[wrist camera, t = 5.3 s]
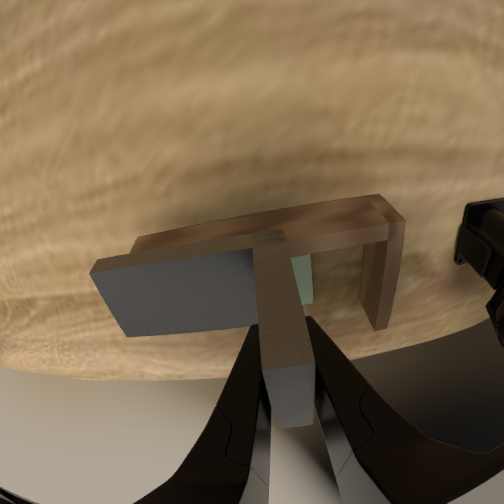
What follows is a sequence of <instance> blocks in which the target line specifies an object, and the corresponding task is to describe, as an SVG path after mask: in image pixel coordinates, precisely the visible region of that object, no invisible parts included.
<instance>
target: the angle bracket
mask: <svg viewBox="0 0 504 504" xmlns="http://www.w3.org/2000/svg"><path fill="white" fill-rule="evenodd" d="M89 274H90V276H91V278H92V280H93V281H94V283H95V285H96V287H97V289H98V290H99V292H100V294H101V296H102V297H103V299H104V301H105V303H106V304H107V306H108V308H109V309H110V311H111V313H112V314H113V316H114V317H115V319H116V321H117V322H118V324H119V325H120V327H121V329H122V330H123V332H124V333H125V335H126V336H127V337H139V336H155V335H168V334H180V333H191V332H202V331H211V330H220V329H229V328H237V327H245V326H251V325H253V324H258V326H259V339H260V351H261V364H262V373H263V376H264V380H265V384H266V388H267V392H268V396H269V400H270V404H271V408H272V411H273V415H274V419H275V423H276V427H277V429H285V428H292V427H299V426H304V425H311V424H313V413H314V412H313V411H314V391H315V359H314V354H313V350H312V346H311V341H310V337H309V332H308V328H307V324H306V320H305V315H304V311H303V307H302V303H301V299H300V295H299V291H298V287H297V283H296V279H295V275H294V271H293V267H292V263H291V259H290V255H289V251H288V247H287V244H286V240H285V236H284V232H283V229H276V230H270V231H263V232H257V233H250V234H244V235H238V236H231V237H225V238H219V239H213V240H207V241H201V242H195V243H189V244H183V245H177V246H171V247H165V248H159V249H153V250H148V251H142V252H136V253H130V254H125V255H119V256H114V257H108V258H103V259H97V261H96V263H95V264H94V266H93V268H92V269H91V271H90V273H89Z"/></svg>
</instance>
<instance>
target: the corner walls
mask: <svg viewBox="0 0 504 504" xmlns="http://www.w3.org/2000/svg"><path fill="white" fill-rule="evenodd" d="M405 223H406V220H405V219H404V218H403V217H402V216H401V215H400V214H399V213H398V212H397V211H396V210H395V209H394V208H393V207H392V206H391V205H390V204H389V203H388V202H387V201H386V200H385V199H384V198H383V197H382V196H381V195H380V194H376V195H368V196H361V197H355V198H348V199H341V200H335V201H328V202H322V203H315V204H309V205H303V206H297V207H291V208H285V209H279V210H274V211H268V212H262V213H257V214H251V215H246V216H240V217H235V218H230V219H225V220H219V221H214V222H209V223H204V224H199V225H194V226H189V227H184V228H179V229H175V230H170V231H165V232H160V233H156V234H151V235H146V236H142V237H138V238H137V239H136V241H135V243H134V245H133V247H132V250H131V252H130V253H136V252H142V251H148V250H153V249H159V248H165V247H171V246H177V245H183V244H189V243H195V242H201V241H207V240H213V239H219V238H225V237H231V236H238V235H244V234H250V233H257V232H263V231H270V230H276V229H283V232H284V236H285V240H286V244H287V247H288V251H289V255H290V258H293V257H299V256H304V255H310V254H315V253H321V252H326V251H331V250H337V249H342V248H348V247H353V246H358V245H364V246H363V263H362V277H361V289H360V301H361V303H362V305H363V307H364V310H365V312H366V314H367V316H368V318H369V321H370V323H371V325H372V328H373V330H374V331H378V330H382V329H385V328H387V327H388V322H389V318H390V314H391V309H392V305H393V300H394V295H395V290H396V284H397V279H398V273H399V267H400V261H401V254H402V247H403V240H404V232H405Z"/></svg>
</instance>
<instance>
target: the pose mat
mask: <svg viewBox="0 0 504 504" xmlns="http://www.w3.org/2000/svg"><path fill="white" fill-rule="evenodd" d="M290 259H291V263H292V267H293V271H294V275H295V279H296V283H297V287H298V291H299V295H300V299H301V303H302V305H306V304H311V303H313V285H312V269H311V254H310V255H304V256H299V257H293V258H290Z"/></svg>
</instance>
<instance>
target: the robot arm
mask: <svg viewBox="0 0 504 504" xmlns="http://www.w3.org/2000/svg"><path fill="white" fill-rule="evenodd" d="M454 261H455V263H456V264H457V265H461V264H464V263H469V264H470V265H471V266H472V267H473V268H474V270H475V271H476V272H477V273H478V274H479V275H480V277H484V279H485V280H486V281H487V282H488V283H489V285H490V286H491V287H492V288H493V290H496V289H497V290H496V291H495V293H494V295H493V296H492V298H491V299H490V301H488V303H487V304H486V309H487V311H488V314H489V316H490V318H491V321H492V323H493V326H494V328H495V331H496V334H497V336H498V339H499V341H500V344H501V346H502V347H504V198H502V199H495V200H489V201H482V202H475V203H470V204H468V205H467V207H466V210H465V216H464V221H463V226H462V231H461V235H460V240H459V244H458V248H457V252H456V256H455V260H454ZM305 320H306V324H307V328H308V332H309V337H310V341H311V346H312V350H313V354H314V359H315V391H314V404H315V407H316V411H317V414H318V418H319V421H320V424H321V428H322V431H323V434H324V438H325V441H326V445H327V449H328V452H329V455H330V459H331V463H332V466H333V470H334V473H335V476H336V480H337V484H338V487H339V491H340V494H341V498H342V502H343V504H504V444H502V445H501V446H499V447H498V448H496V449H495V450H493V451H491V452H488V453H475V452H471V451H468V450H464V449H461V448H458V447H455V446H451V445H448V444H445V443H442V442H439V441H436V440H433V439H431V438H429V437H427V436H426V435H424V434H423V433H422V432H420V431H419V430H418V429H417V428H415V427H414V426H413V425H412V424H411V423H410V422H409V421H407V420H406V419H405V418H404V417H403V416H401V415H400V414H399V413H398V412H397V411H396V410H395V409H394V408H393V407H391V406H390V405H389V404H388V403H387V402H386V401H385V400H384V399H383V398H382V397H381V396H380V395H379V393H378V392H377V391H376V390H375V389H374V388H373V387H372V386H371V385H370V383H368V381H367V380H366V379H365V378H364V377H363V375H362V374H361V373H360V372H359V371H358V370H357V369H356V368H355V366H354V365H353V364H352V363H351V362H350V360H349V359H348V358H347V357H346V356H345V355H344V354H343V352H342V351H341V350H340V349H339V348H338V347H337V346H336V344H335V343H334V342H333V341H332V340H331V339H330V337H329V336H328V335H327V334H326V333H325V332H324V331H323V329H322V328H321V327H320V326H319V325H318V324H317V323H316V321H315V320H314V319H313V318H312V317H311V316H305ZM216 405H217V406H215V408H214V410H213V412H212V414H211V416H210V418H209V421H208V423H207V425H206V426H205V428H204V430H203V432H202V433H201V435H200V437H199V438H198V440H197V441H196V443H195V444H194V446H193V448H192V449H191V451H190V452H189V454H188V455H187V457H186V458H185V460H184V461H183V463H182V464H181V465H180V467H179V468H178V470H177V471H176V472H175V473H174V475H173V476H172V477H171V478H170V479H168V480H167V481H166V482H165V483H163V484H162V485H160V486H159V487H158V488H156V489H155V490H153V491H152V492H150V493H149V494H147V495H146V496H144V497H143V498H141V499H140V500H138V501H137V502H135V503H133V504H268V498H269V474H270V445H271V404H270V400H269V396H268V392H267V388H266V384H265V380H264V376H263V373H262V364H261V351H260V339H259V326H258V324H253V325H251V327H250V329H249V331H248V334H247V336H246V338H245V341H244V343H243V345H242V348H241V350H240V352H239V354H238V357H237V359H236V361H235V363H234V366H233V368H232V370H231V373H230V375H229V377H228V379H227V382H226V384H225V386H224V388H223V390H222V393H221V395H220V397H219V400H218V402H217V404H216ZM0 504H38V503H35V502H33V501H30V500H28V499H25V498H23V497H20V496H18V495H16V494H14V493H12V492H10V491H8V490H5V489H4V488H2V487H0Z"/></svg>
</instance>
